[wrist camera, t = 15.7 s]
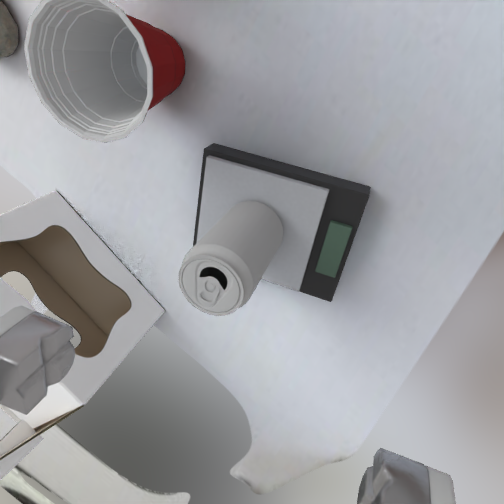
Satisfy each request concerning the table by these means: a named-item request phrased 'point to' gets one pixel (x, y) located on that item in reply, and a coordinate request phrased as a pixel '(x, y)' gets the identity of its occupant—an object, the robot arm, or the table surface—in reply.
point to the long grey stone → (7, 32)
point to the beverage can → (231, 258)
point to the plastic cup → (99, 66)
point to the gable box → (69, 308)
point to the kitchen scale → (286, 214)
